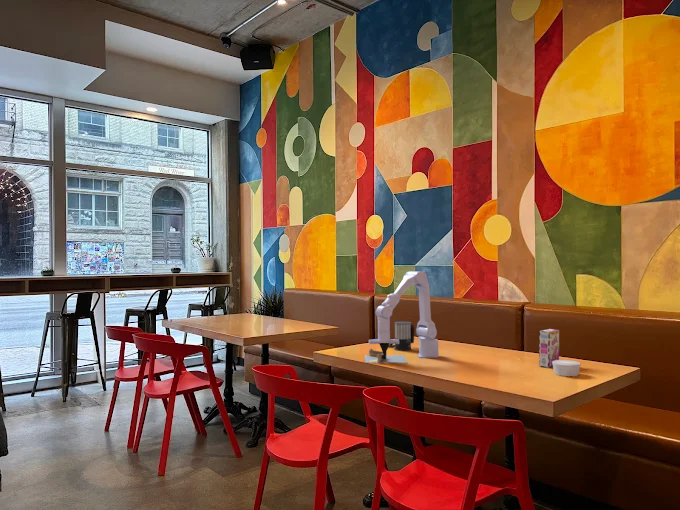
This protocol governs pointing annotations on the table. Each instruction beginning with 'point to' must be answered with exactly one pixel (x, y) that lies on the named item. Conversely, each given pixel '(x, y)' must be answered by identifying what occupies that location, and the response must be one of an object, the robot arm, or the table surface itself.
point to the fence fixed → (374, 352)
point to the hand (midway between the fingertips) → (384, 358)
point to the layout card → (388, 359)
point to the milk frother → (403, 336)
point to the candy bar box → (548, 347)
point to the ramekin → (566, 367)
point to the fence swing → (380, 357)
